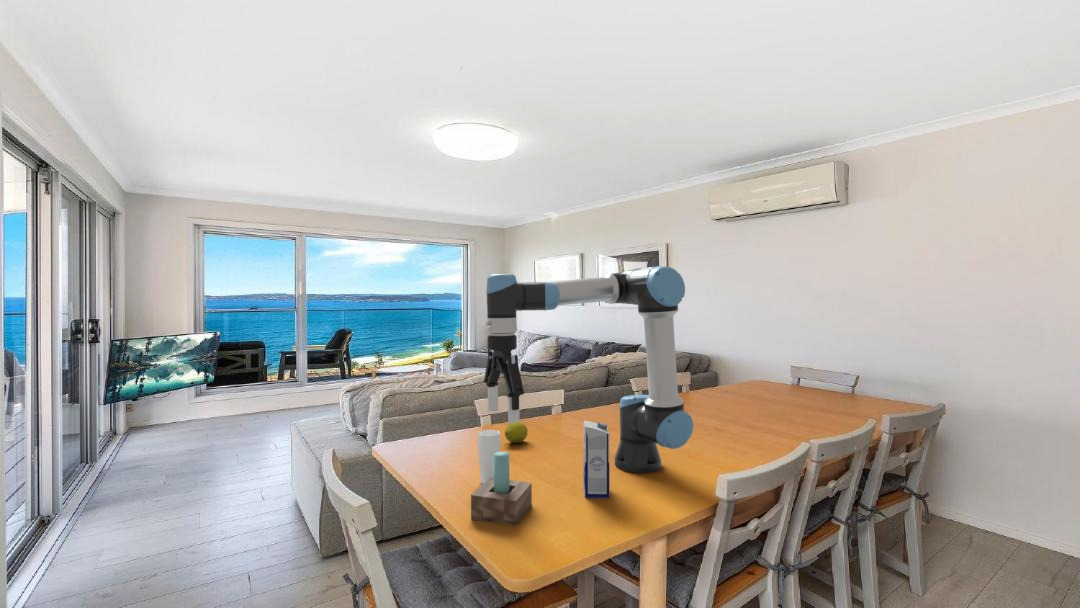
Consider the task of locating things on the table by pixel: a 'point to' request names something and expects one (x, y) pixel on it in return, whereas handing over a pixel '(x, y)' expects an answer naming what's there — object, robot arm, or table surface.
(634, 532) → the table surface
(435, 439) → the table surface
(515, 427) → the lemon
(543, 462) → the table surface
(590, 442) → the milk carton
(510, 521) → the bore block
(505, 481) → the dowel
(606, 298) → the robot arm
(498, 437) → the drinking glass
